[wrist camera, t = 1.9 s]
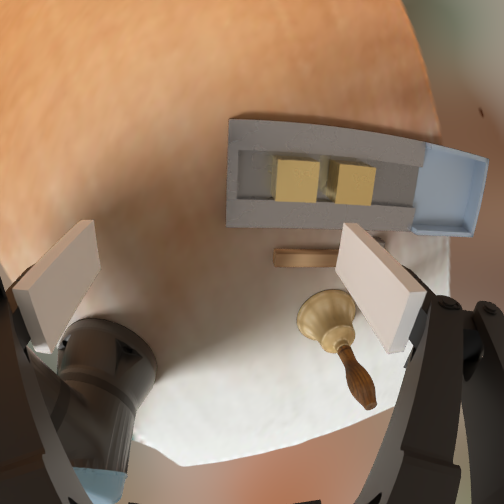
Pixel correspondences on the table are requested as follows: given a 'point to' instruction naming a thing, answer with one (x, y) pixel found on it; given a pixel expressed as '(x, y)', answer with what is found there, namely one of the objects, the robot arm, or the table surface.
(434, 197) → the tray
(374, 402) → the hand bell
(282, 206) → the slot board
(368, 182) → the chip
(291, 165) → the yellow square block
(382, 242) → the hammer
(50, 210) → the table surface
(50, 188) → the table surface
